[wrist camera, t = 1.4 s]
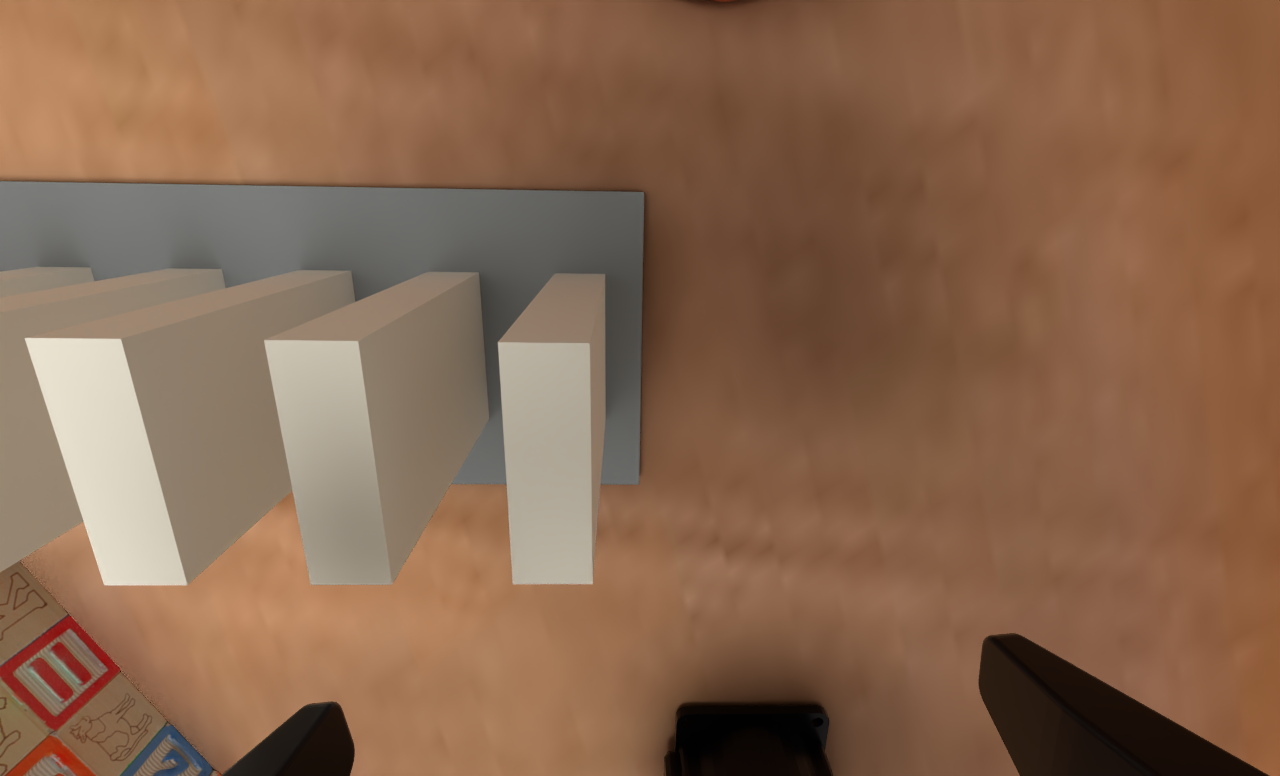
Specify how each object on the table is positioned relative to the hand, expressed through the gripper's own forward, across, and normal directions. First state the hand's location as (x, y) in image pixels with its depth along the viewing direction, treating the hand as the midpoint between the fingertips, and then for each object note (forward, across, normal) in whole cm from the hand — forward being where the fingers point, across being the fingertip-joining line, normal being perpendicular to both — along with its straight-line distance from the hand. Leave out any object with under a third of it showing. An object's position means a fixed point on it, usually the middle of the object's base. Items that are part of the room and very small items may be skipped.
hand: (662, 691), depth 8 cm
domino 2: (+13, +6, -2) cm, 14 cm away
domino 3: (+13, +10, -3) cm, 16 cm away
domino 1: (+13, +2, -2) cm, 13 cm away
